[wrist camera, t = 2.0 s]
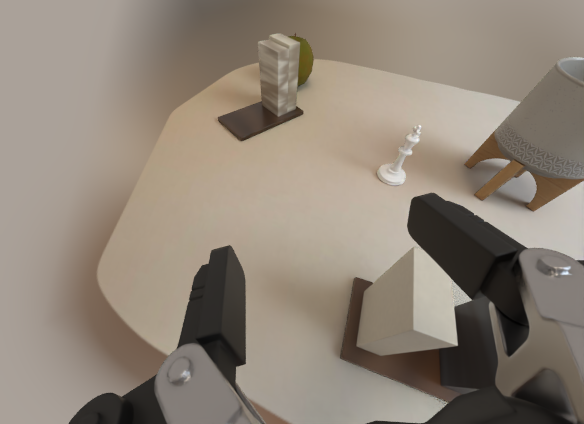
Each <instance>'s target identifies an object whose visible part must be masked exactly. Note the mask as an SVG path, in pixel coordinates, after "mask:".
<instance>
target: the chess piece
mask: <svg viewBox="0 0 584 424" xmlns="http://www.w3.org/2000/svg"><path fill="white" fill-rule="evenodd" d="M420 129H421V125H417V127H413V131H414V132H413V134H408V135H406V137H405V143H404V146H401V147H400V148H399V149H398V150H399V152H400V154H399V156H398V157H397V158H396V160H395V161H394V162H393V164H384V165H382V166H381V167H380V168H379V169H378V171H377V175H378V177H379V178H380V180H381V181H383V182H384V183H386V184H389V185H393V186H397V185H401V184H402V183H404V181H405V179H406V174H405V172H404V171H403V170H402V169H401V166H402V164H403V161H404V159H405V157H406V155H407V156H408V155H411V154H412V149H411V148H412V147H413V146H414V145H415V144H417V143H418V142H419V137H418V136H420V134H421V133H420Z"/></svg>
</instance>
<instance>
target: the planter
mask: <svg viewBox="0 0 584 424" xmlns="http://www.w3.org/2000/svg"><path fill="white" fill-rule="evenodd" d="M492 158H500V159H507V160H510V161H511V162H510V163H509V164H508V165H507V166H506V167H505V168H503V169H502V170H501V171H500V172H499V173H498V174H497V175H496V176H494V177H493V178H492V179H491V180H490V181H489V182H488V183H487V184H485V185H484V186H483V187H482V188H481V189H480V190H479V191H478V192H476V193H475V194H474V195H475V196H477V197H478V198H479V199H481V200H484V199H485V198H487V197H488V196H489V195H491V194H492V193H493V192H494V191H496V190H497V189H498V188H499V187H501V186H502V185H503V184H505V183H506V182H507V181H509V180H510V179H511V178H513V177H514V176H515V177H519V176H520V175H522V174H523V173H524V172H525V171H529V172H530V173H531V174H532V176H533V177H534V179H535V181H536V185H537V190H536V194H535V197H534V198H533V200H532V201H531V202H530V203H529V204H528V205H526V207H528V208H529V209H531V210H532V211H535V210H537V209H538V208H540V207H542V206H543V205H545V204H546V203H548V202H550V201H551V200H553V199H555V198H556V197H558V196H559V195H561V194H563V193H564V192H566V191H568V190H569V189H571V188H572V187H574V186H576V185H577V184H579V183H581V182H582V181H584V58H578V57H574V58H573V57H570V58H564V59H561V60H559V61H558V62H557V63H556V64H555V65H554V66H553V67H552V69H551V70H550V71H549V72H548V73H547V74H546V75H545V76H544V77H543V78H542V80H541V81H540V82H539V83H538V84H537V85H536V86H535V87H534V88H533V90H531V92H530V93H529V94H528V95H527V96H526V97H525V98H524V99H523V101H521V103H520V104H519V105H518V106H517V107H516V108H515V109H514V110H513V111H512V112H511V114H510V115H509V116H508V117H507V118H506V119H505V120H504V121H503V122H502V123H501V125H500V126H499V127H498V128H497V129H496V130H495V131H494V132H493V133H492V134H491V135H490V137H489V138H488V139H487V140H486V141H485V142H484V143H483V144H482V145H481V146H480V148H479V149H478V150H477V151H476V152H475V153H474V154H473V155H472V156H471V157H470V159H469V160H468V161H467V162H466V163H465V164H464V165H466V166H467V167H469V168H472V167H473V166H475V165H476V164H477V163H478V162H480V161H483V160H486V159H492Z"/></svg>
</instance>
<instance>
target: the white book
mask: <svg viewBox="0 0 584 424" xmlns="http://www.w3.org/2000/svg"><path fill="white" fill-rule="evenodd" d="M356 346H357V347H359V348H362V349H364V350H367V351H370V352H372V353H375V354H377V355H380V356H383V355H391V354H399V353H407V352H414V351H422V350H430V349H438V348H446V347H454V346H458V342H457V332H456V321H455V311H454V300H453V290H452V280H451V278H450V277H449V276H448V275H447V274H446V272H445V271H444V270H443V269H442V268H441V267H440V266H439V265H438V264H437V263H436V262H435V261H434V260H433V259H432V258H431V257H430V256H429V255H428V254H427V253H426V252H425V251H424V250H423V249H420V248H417V247H413V248H412V249H411V250H410V251H408V252H407V253H406V254H405V255H404V256H403V257H402V258H401V259H400V260H398V261H397V262H396V263H395V264H394V265H393V266H392V267H391V268H390V269H389V270H387V271H386V272H385V273H384V274H383V275H382V276H381V277H380V278H379V279H377V280H376V281H375V282H374V283H373V284H372V285H371V286H370V287H369V288H368V289H366V290H365V291H364V295H363V302H362V309H361V316H360V323H359V330H358V337H357V344H356Z"/></svg>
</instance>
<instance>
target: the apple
mask: <svg viewBox="0 0 584 424" xmlns="http://www.w3.org/2000/svg"><path fill="white" fill-rule="evenodd" d="M289 38H291V39H293V40H295V41H298V42H300V52H299V67H298V83H297V86H299V85H301V84H304V83H305V82H306V80H307V79H308V77H309V75H310V74H311V72H312V66H313V54H312V49H311V47H310V45H309V44H308V42H307V41H306V40H305V39H303V38H300V37H296V34H295V36H289Z"/></svg>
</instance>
